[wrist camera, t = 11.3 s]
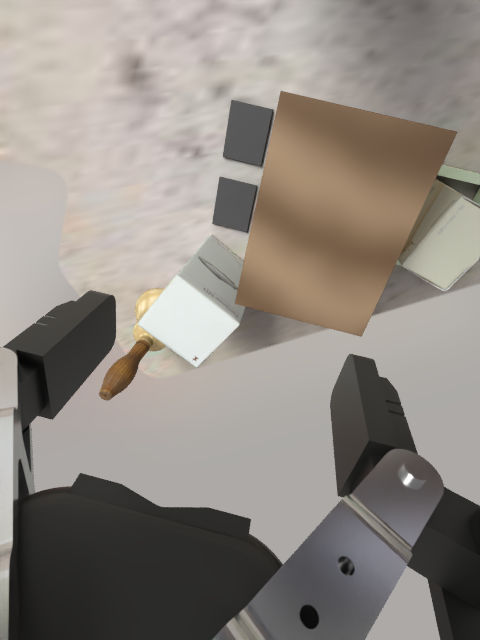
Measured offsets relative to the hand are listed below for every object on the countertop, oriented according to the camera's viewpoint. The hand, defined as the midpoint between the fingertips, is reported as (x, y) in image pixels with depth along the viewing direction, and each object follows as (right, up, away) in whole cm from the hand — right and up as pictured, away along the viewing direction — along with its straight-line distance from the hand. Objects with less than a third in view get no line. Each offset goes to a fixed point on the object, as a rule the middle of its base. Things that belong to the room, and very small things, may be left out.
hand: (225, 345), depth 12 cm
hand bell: (-10, +2, +35) cm, 37 cm away
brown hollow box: (+9, +14, +24) cm, 29 cm away
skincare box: (+18, +12, +24) cm, 32 cm away
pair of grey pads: (0, +16, +24) cm, 29 cm away
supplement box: (-2, +7, +31) cm, 32 cm away
